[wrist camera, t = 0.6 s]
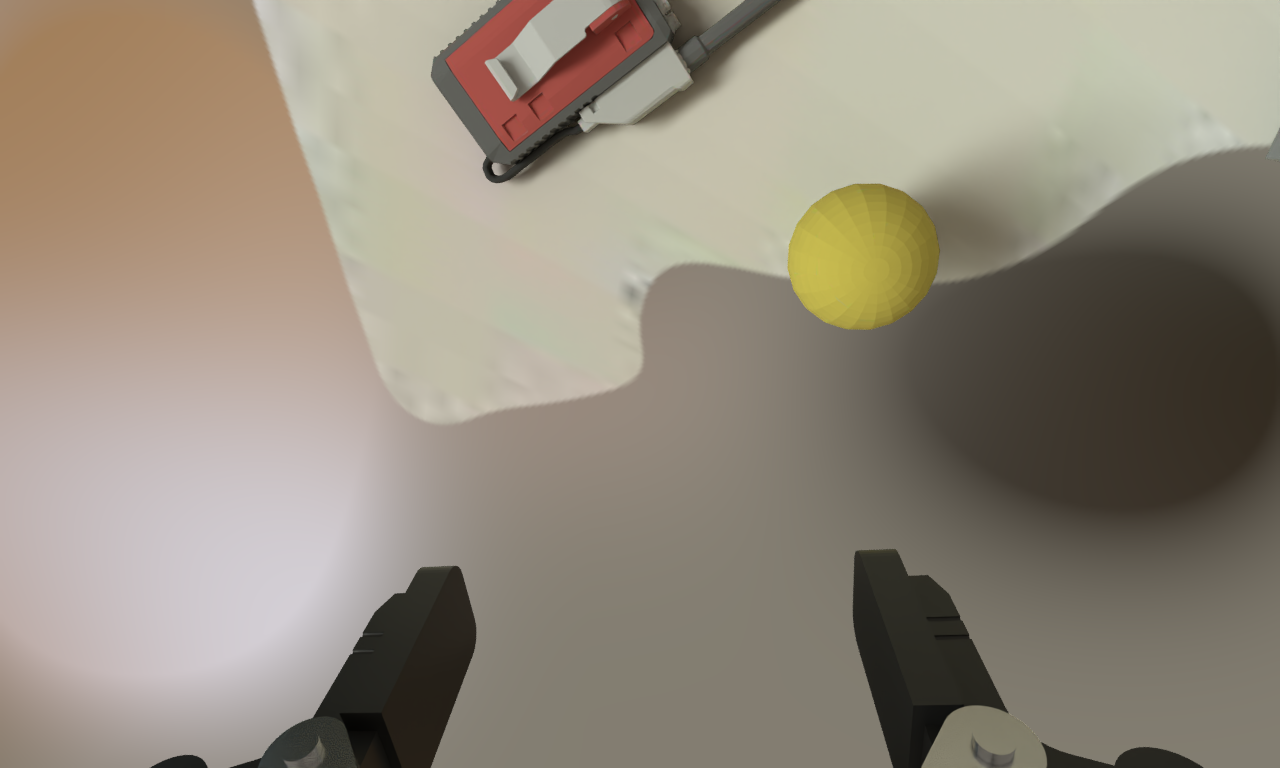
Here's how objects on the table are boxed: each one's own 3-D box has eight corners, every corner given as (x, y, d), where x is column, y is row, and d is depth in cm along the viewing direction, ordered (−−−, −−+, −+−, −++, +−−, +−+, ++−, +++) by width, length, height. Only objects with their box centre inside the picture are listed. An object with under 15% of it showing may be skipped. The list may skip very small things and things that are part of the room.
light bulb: (765, 287, 39) (780, 333, 29) (790, 167, 36) (815, 175, 27) (881, 306, 38) (934, 359, 29) (914, 186, 36) (983, 201, 27)
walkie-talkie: (522, 214, 39) (826, -17, 34) (499, 222, 35) (841, -39, 30) (426, 81, 38) (732, -187, 32) (390, 73, 33) (734, -237, 28)
